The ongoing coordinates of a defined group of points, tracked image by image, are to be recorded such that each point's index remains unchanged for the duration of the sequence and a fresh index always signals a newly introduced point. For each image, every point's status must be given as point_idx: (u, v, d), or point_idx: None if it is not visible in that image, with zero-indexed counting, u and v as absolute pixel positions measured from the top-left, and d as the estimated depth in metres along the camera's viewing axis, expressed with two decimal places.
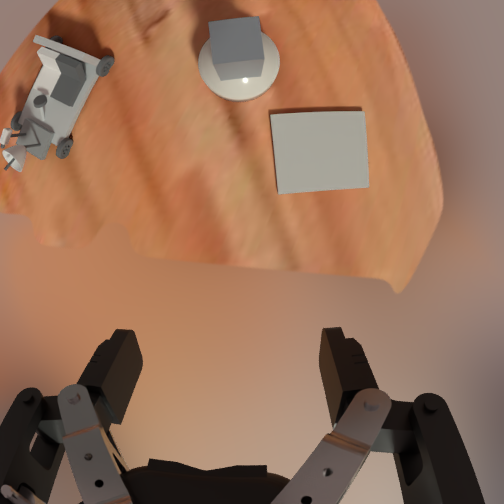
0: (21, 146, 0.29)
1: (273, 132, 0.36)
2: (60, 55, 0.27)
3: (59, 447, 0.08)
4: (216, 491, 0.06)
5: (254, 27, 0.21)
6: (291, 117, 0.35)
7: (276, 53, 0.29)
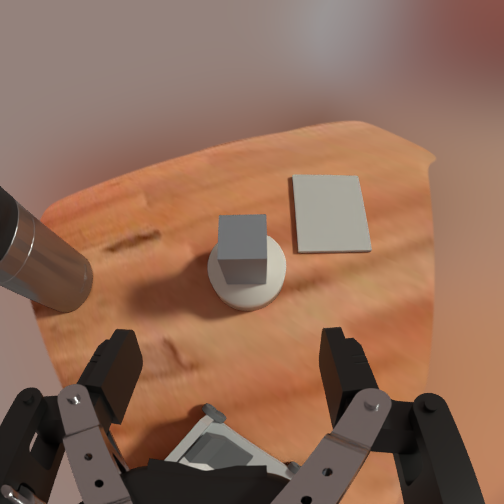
0: None
1: (315, 250, 0.40)
2: (186, 456, 0.27)
3: (59, 447, 0.08)
4: (216, 491, 0.06)
5: (231, 219, 0.29)
6: (301, 233, 0.41)
7: None
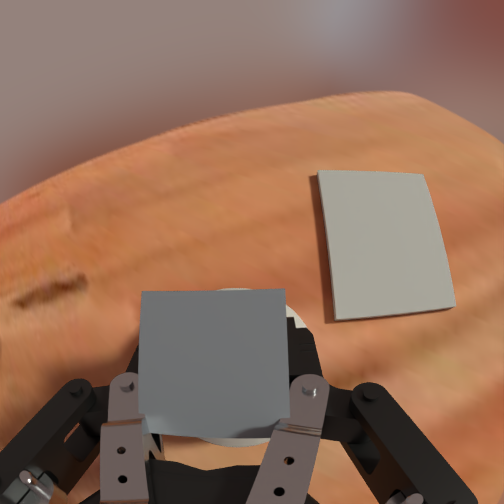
0: None
1: (367, 314, 0.20)
2: None
3: (99, 442, 0.08)
4: (216, 491, 0.06)
5: (176, 307, 0.09)
6: (340, 282, 0.21)
7: None
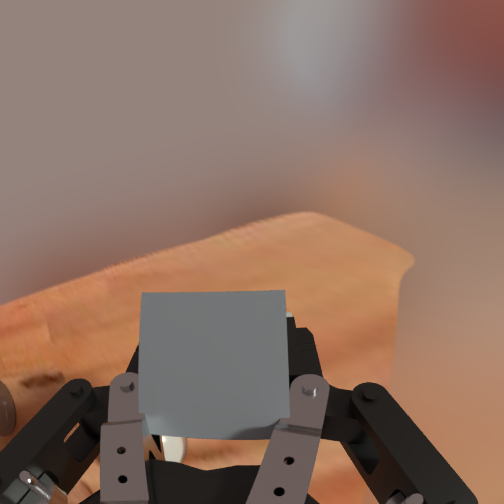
0: None
1: None
2: None
3: (99, 442, 0.08)
4: (216, 491, 0.06)
5: (177, 308, 0.09)
6: None
7: None
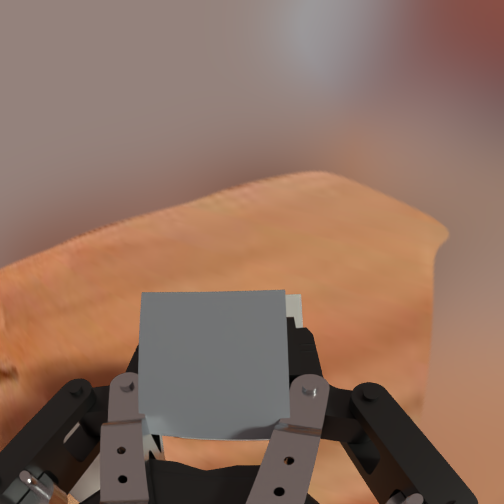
0: None
1: None
2: None
3: (99, 442, 0.08)
4: (216, 491, 0.06)
5: (177, 308, 0.09)
6: None
7: None
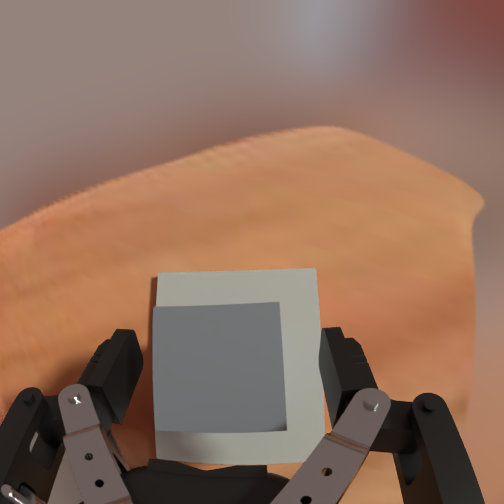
0: None
1: (192, 460, 0.15)
2: None
3: (59, 447, 0.08)
4: (216, 491, 0.06)
5: (185, 320, 0.10)
6: None
7: None
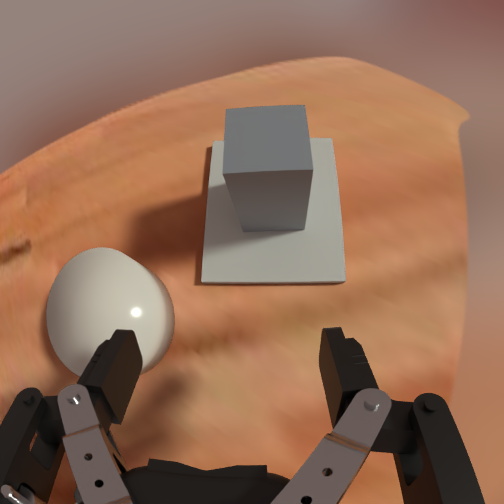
0: None
1: (233, 279, 0.21)
2: None
3: (59, 447, 0.08)
4: (216, 491, 0.06)
5: (246, 113, 0.16)
6: (210, 246, 0.22)
7: (94, 251, 0.19)
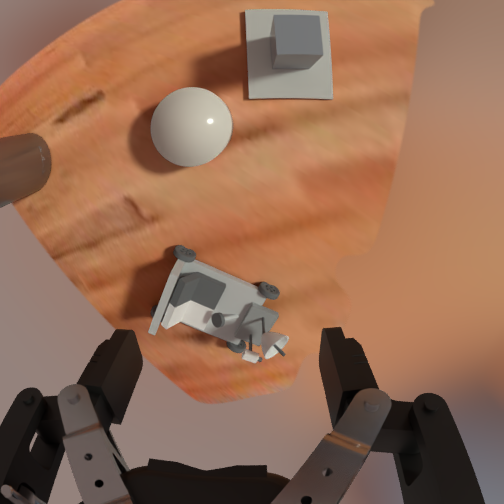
0: (263, 337, 0.38)
1: (268, 96, 0.33)
2: (171, 302, 0.39)
3: (59, 447, 0.08)
4: (216, 491, 0.06)
5: (286, 18, 0.23)
6: (252, 78, 0.32)
7: (183, 90, 0.30)
